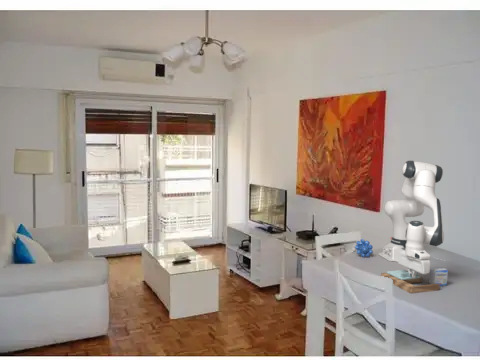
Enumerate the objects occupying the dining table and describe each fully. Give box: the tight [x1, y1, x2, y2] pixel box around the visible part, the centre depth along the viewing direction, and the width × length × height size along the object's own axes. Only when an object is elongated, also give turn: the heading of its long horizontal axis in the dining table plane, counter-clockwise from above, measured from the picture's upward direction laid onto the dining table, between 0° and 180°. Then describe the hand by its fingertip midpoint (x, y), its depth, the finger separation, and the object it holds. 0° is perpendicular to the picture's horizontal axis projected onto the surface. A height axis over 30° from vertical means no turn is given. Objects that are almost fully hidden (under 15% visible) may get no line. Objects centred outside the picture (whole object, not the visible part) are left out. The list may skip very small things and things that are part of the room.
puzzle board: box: [380, 272, 441, 294], centre depth 237 cm, size 24×18×3 cm
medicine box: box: [428, 267, 449, 287], centre depth 237 cm, size 8×4×9 cm, turn 105°
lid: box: [385, 269, 422, 280], centre depth 241 cm, size 12×12×3 cm
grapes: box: [354, 238, 374, 258], centre depth 286 cm, size 12×7×12 cm, turn 86°
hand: (412, 277), depth 235 cm, fingers closed
